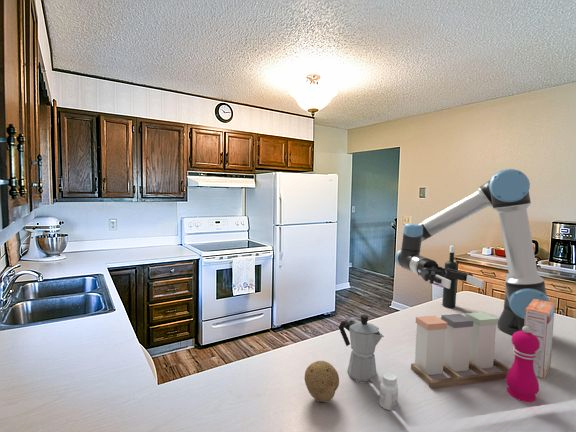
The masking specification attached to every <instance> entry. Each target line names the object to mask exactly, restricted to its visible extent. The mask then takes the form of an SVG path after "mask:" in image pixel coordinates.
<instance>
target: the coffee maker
mask: <svg viewBox="0 0 576 432" xmlns="http://www.w3.org/2000/svg"><path fill="white" fill-rule="evenodd" d="M369 317H370V316H369V315H367V314H360V321H357V322H356V320H353V319H350V320H349V321H347V320H342V321H341V322H340V324H339V326H338V329H339V333H340V334H341V336H342V338H343V341H344V344H345V346H346V347H349V345H350V348H351V349H352V350H351V353H350V357H349V362H348V367H347V371H346V372H347V374H348V377H349V378H350V379H351V378H352V379H351V380H353V379H354V381H355V380H357V381H359V382H358V383H360V382H371V383H373V382H372V380H370V379H371V378H373V377H375V376H376V375H377V366H376V358H375V350H376V347H377V345H378V344H379V342H380V341H381V340H382V338H384V337H385V336H384V335H383V334H382V332H380V331H379V329H380V327H378V326H376V325H375V324H374V323H370V322H368V320H369ZM346 330H347V331H348V332H349V337H348V335H347V332H346ZM349 338H350V339H349ZM357 381H356V382H357Z"/></svg>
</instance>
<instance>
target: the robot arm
mask: <svg viewBox="0 0 576 432" xmlns="http://www.w3.org/2000/svg"><path fill="white" fill-rule="evenodd" d="M530 182H531V181H530V179H529V178H528V176H527V174H525V173H524V172H522V171H520V170H518V169H514V168H506V169H503V170H500V171H497V172H496V173H495V174H493V175H492V176H491V178H490V179H489V180H488V181H487V182H485V183H483V184H482V185H480V186H478V188H477V190H476V191H475V192H472V194H470V195H467V196H466V197H464V198H463V199H461V200H458V201H457V202H455V203H453V204H452V205H450V206H448V207H446V208H445V209H442V210H441V211H439V212H437V213H435V214H434V215H432V216H430V217H429V218H426V219H425V220H423V221H422V222H419V223H418V224H416V223H405V224H404V228H403V231H402V242H401V247H400V249H399V250H398V251H397V252H396V254H395V257H394V259H395V263H396V264H397V265H398V266H399V267H401V268H403V269H404V270H407V271H410V272H412V273H414V274H416V275H417V276H418V277H419V276H420V277H421V278H422V280H424V281H425V282H429V284H431V285H432V284H434V283H435V284H437V285H440V286H442V288H443V287H446V288H448V289H450V285H451V280H448V278H453V279H457V281H461V282H465V283H466V284H470V285H471V286H474V287H476V288H479V289H484V283H485V280H483V279H481V278H478V277H475V276H474V275H473V274H472V273H471V272H463V271H461V270H458V271H457V270H453V269H450V268H445V267H442V266H439V263H437V262H436V261H435V259H431V258H428V257H426V256H423V255H421V248H422V243H423V242H424V241H426V240H427V239H430V238H431V237H433V236H435V235H437V234H440V232H443V231H445V230H446V229H448V228H451V227H452V226H454V225H456V224H457V223H460V222H462V221H463V220H465V219H467V218H469V217H471V216H473V215H474V214H477V213H478V212H481V211H482V210H484V209H486V208H488V207H490V208H492V210H494V211H496V212H497V213H498V217H499V224H500V230H501V234H502V240H503V247H504V253H505V258H506V259H505V260H506V265H507V271H508V274H506V277H505V280H504V281H505V287H504V288H505V289H504V290H505V291H504V302H503V310H502V312H501V314H500V316H499V318H498V324H497V325H496V328H498V329H499V330H500V331H502V332H504V333H506V334H507V335H511V336H512V335H513V334H514V333H515V332H517V331H523V330H522V328H523V327H524V322H525V309H526V308H527V307H528V306H529V304H530V303H531V302H532V301H533V299H538V300H543V301H547V302H551V300H550V298H549V297H548V294H547V290H546V284H545V279H544V278H543V277H541V276H540V275H539V273H538V268H537V263H536V257H535V255H536V254H535V250H534V246H533V245H534V244H533V238H532V234H531V228H530V227H531V226H530V221H529V216H528V210H527V209H528V208H529V207H530V205H531V204H532V202H531V196H530V187H531V183H530ZM445 274H446V275H447V276H445ZM446 278H447V279H446Z"/></svg>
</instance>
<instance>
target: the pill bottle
mask: <svg viewBox="0 0 576 432" xmlns="http://www.w3.org/2000/svg"><path fill="white" fill-rule="evenodd" d="M381 378H382V379H381V382H380V384H379V385H380V386H379V405H380V407H381V408H382V407H383V408H382V409H384V410H386V409H387V411H395V408H394V406H397V405H398V402H399V401H398V400H399V399H398V398H399V386H398V384H397V383H398V378H397V375H396V374H394V373H392V372H383V374H382V377H381Z"/></svg>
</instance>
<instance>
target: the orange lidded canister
mask: <svg viewBox="0 0 576 432" xmlns="http://www.w3.org/2000/svg"><path fill="white" fill-rule="evenodd" d="M415 323H416V335H415V336H416V338H415V352H414V353H415V357H414V364H416V365H417V366H418V367H419V368H420V369H421V370H423V371H424V372H425V373H426V374H427V375H429V376H433V375H441V374H444V372H443V363H444V346H445V330H446V329H447V324H448V323H447V322H445V321H443V320H442V319H441V317H438V316H436V315H427V316H426V315H424V316H415Z"/></svg>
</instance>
